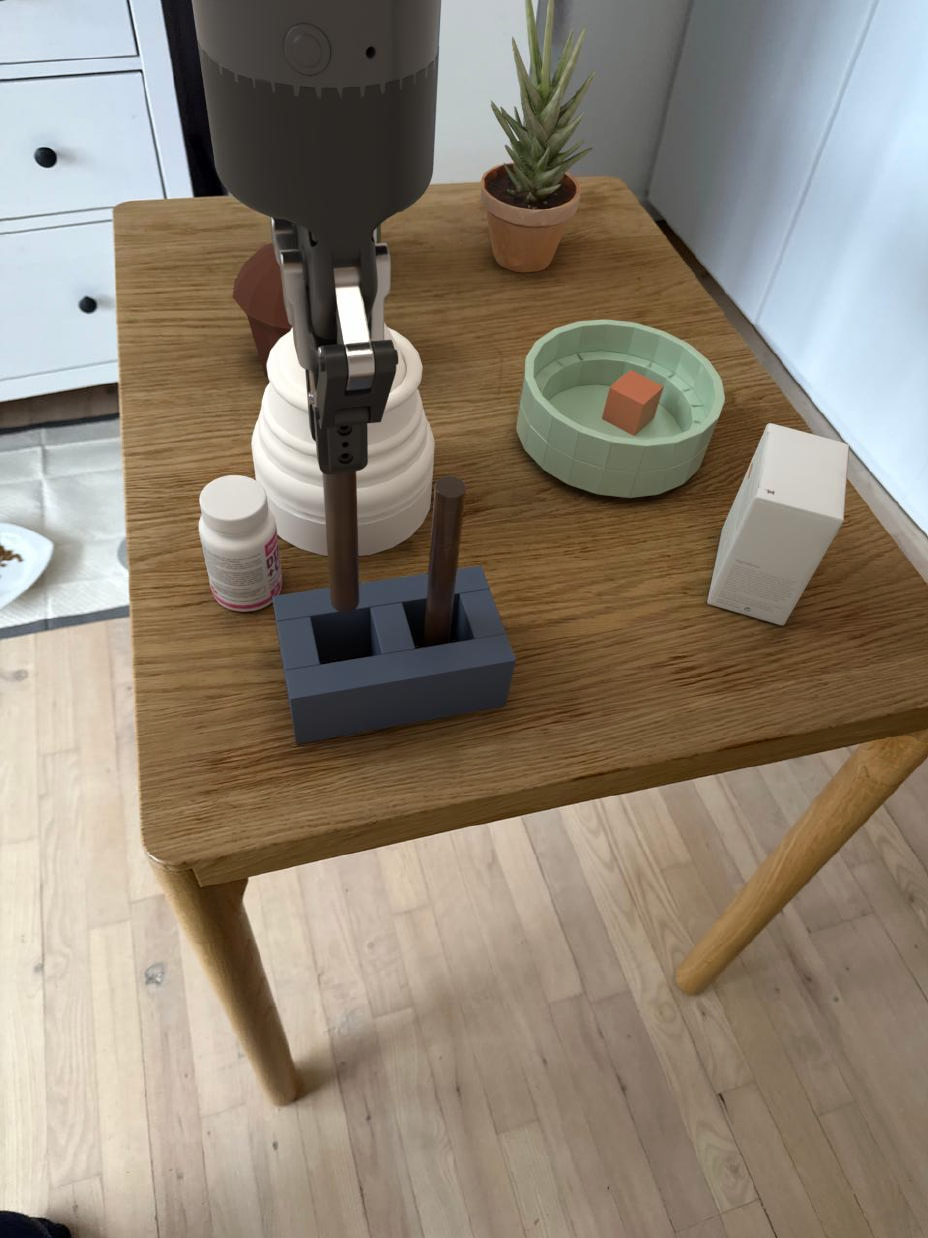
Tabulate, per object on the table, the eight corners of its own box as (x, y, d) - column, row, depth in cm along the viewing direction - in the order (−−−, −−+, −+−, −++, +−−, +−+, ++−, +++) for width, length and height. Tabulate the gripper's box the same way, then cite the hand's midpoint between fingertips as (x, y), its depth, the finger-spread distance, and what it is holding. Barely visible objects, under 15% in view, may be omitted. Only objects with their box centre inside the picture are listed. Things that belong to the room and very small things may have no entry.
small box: (782, 629, 62) (846, 523, 54) (703, 605, 63) (754, 497, 54) (793, 550, 67) (853, 442, 59) (720, 529, 68) (768, 419, 59)
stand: (278, 644, 58) (272, 595, 54) (474, 613, 61) (481, 564, 57) (296, 744, 53) (290, 699, 49) (506, 706, 56) (516, 660, 52)
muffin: (254, 409, 72) (240, 297, 64) (230, 329, 78) (215, 219, 70) (396, 388, 75) (399, 279, 67) (362, 313, 81) (361, 206, 73)
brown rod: (351, 586, 51) (342, 345, 38) (364, 606, 50) (360, 366, 37) (325, 597, 50) (308, 355, 37) (338, 617, 49) (325, 376, 37)
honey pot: (455, 536, 65) (478, 319, 51) (280, 573, 61) (252, 351, 47) (401, 424, 72) (408, 207, 58) (242, 452, 69) (208, 227, 54)
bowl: (623, 361, 80) (639, 301, 75) (740, 466, 72) (766, 407, 68) (479, 410, 74) (486, 349, 69) (590, 530, 66) (606, 470, 62)
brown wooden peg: (437, 654, 58) (455, 471, 46) (450, 671, 57) (472, 491, 45) (416, 663, 58) (429, 481, 45) (429, 681, 57) (445, 501, 44)
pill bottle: (288, 607, 60) (278, 518, 53) (216, 620, 58) (196, 530, 52) (277, 555, 62) (266, 465, 56) (207, 566, 61) (187, 475, 55)
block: (621, 400, 75) (630, 369, 72) (654, 417, 74) (664, 386, 71) (601, 418, 73) (609, 386, 71) (634, 436, 72) (643, 404, 70)
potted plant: (466, 232, 91) (490, -59, 72) (555, 230, 93) (602, -55, 74) (485, 286, 85) (517, -15, 66) (579, 283, 87) (638, -12, 68)
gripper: (495, 119, 25) (453, 547, 38) (391, -47, 33) (387, 355, 46) (217, 129, 23) (276, 572, 37) (179, -49, 31) (239, 369, 44)
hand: (338, 450), depth 41 cm, fingers closed on brown rod, 1 cm apart
